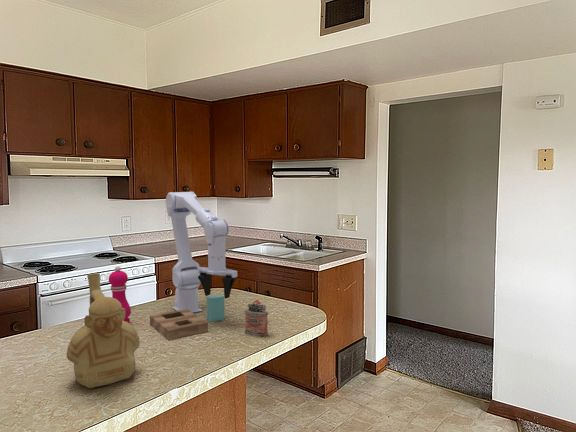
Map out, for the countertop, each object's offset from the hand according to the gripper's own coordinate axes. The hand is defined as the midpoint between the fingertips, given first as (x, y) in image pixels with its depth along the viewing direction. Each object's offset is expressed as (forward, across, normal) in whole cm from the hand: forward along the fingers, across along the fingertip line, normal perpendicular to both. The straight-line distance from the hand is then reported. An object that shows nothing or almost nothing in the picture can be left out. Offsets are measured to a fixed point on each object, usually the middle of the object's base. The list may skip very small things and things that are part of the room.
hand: (217, 296), depth 151 cm
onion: (+10, +11, +7) cm, 16 cm away
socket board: (+10, -10, -8) cm, 16 cm away
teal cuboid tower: (+10, -3, +4) cm, 11 cm away
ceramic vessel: (+10, -4, -45) cm, 46 cm away
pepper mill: (+10, -30, -14) cm, 34 cm away
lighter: (+10, +17, -4) cm, 20 cm away
